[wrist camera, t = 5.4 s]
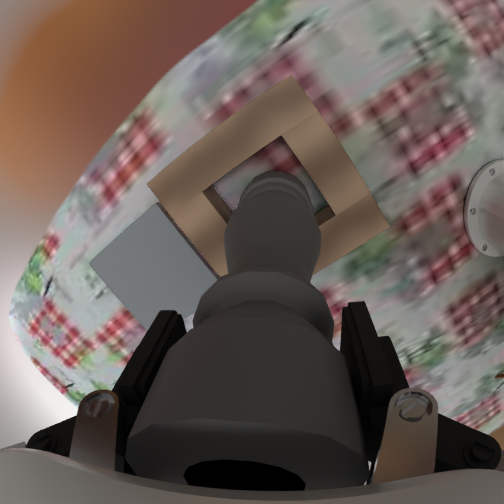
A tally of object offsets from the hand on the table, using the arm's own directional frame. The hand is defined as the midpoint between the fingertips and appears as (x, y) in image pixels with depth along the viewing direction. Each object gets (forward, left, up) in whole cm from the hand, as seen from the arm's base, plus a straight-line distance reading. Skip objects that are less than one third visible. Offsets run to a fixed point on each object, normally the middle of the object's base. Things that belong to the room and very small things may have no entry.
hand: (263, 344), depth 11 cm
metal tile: (0, +17, -24) cm, 30 cm away
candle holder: (0, 0, -20) cm, 20 cm away
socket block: (0, 0, -24) cm, 24 cm away
